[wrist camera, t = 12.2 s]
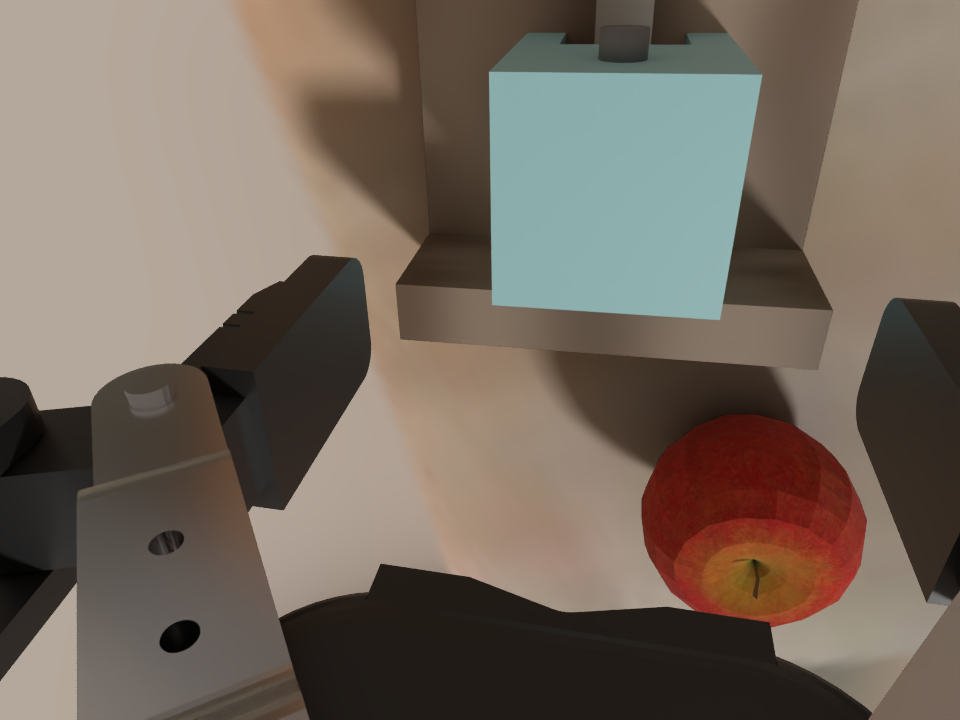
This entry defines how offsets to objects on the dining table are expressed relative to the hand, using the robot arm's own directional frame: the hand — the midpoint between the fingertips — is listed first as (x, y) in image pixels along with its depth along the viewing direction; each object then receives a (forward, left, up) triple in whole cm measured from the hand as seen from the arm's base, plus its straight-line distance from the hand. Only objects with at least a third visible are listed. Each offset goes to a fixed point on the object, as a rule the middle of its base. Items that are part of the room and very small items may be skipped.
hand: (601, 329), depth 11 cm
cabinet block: (0, 0, -14) cm, 14 cm away
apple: (-6, +14, -16) cm, 22 cm away
